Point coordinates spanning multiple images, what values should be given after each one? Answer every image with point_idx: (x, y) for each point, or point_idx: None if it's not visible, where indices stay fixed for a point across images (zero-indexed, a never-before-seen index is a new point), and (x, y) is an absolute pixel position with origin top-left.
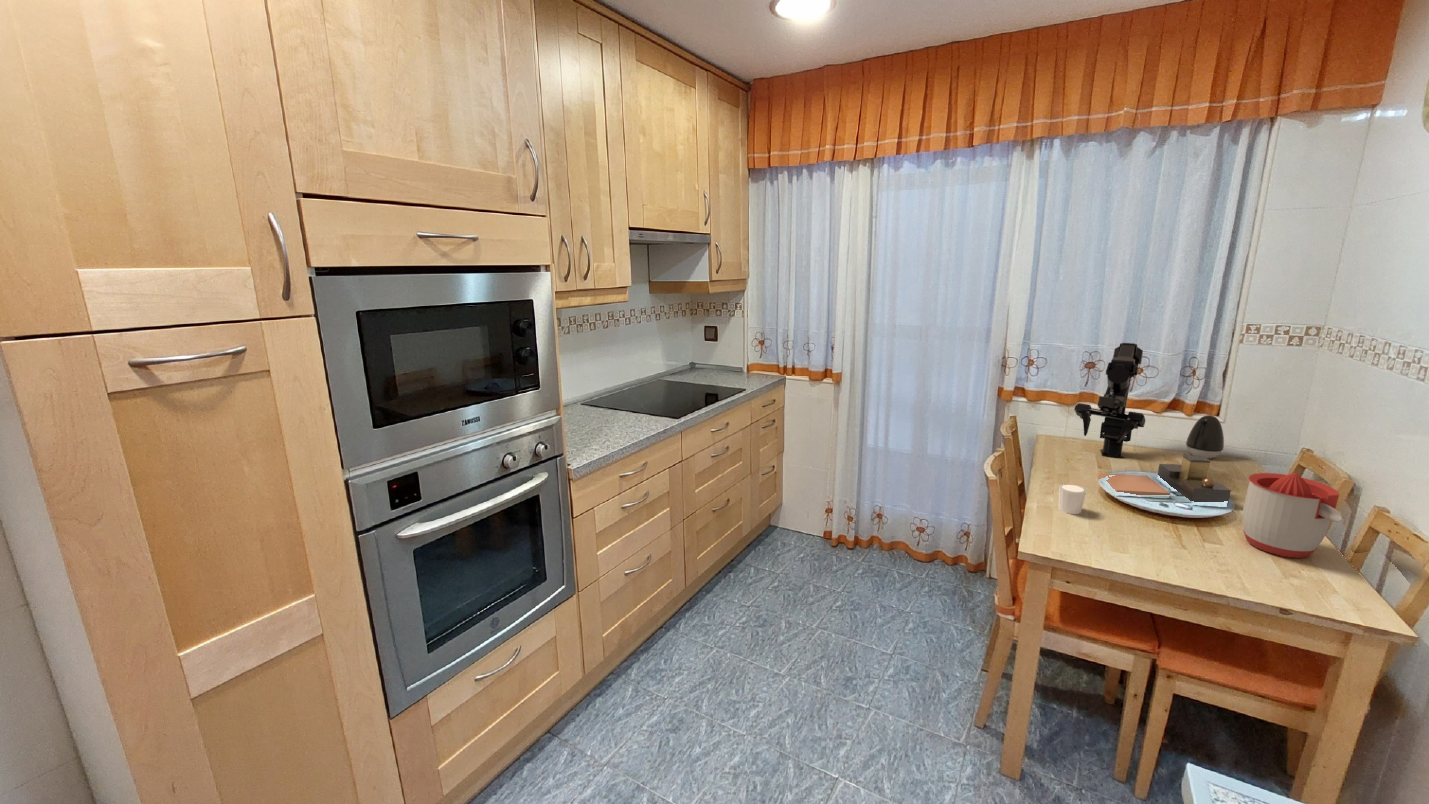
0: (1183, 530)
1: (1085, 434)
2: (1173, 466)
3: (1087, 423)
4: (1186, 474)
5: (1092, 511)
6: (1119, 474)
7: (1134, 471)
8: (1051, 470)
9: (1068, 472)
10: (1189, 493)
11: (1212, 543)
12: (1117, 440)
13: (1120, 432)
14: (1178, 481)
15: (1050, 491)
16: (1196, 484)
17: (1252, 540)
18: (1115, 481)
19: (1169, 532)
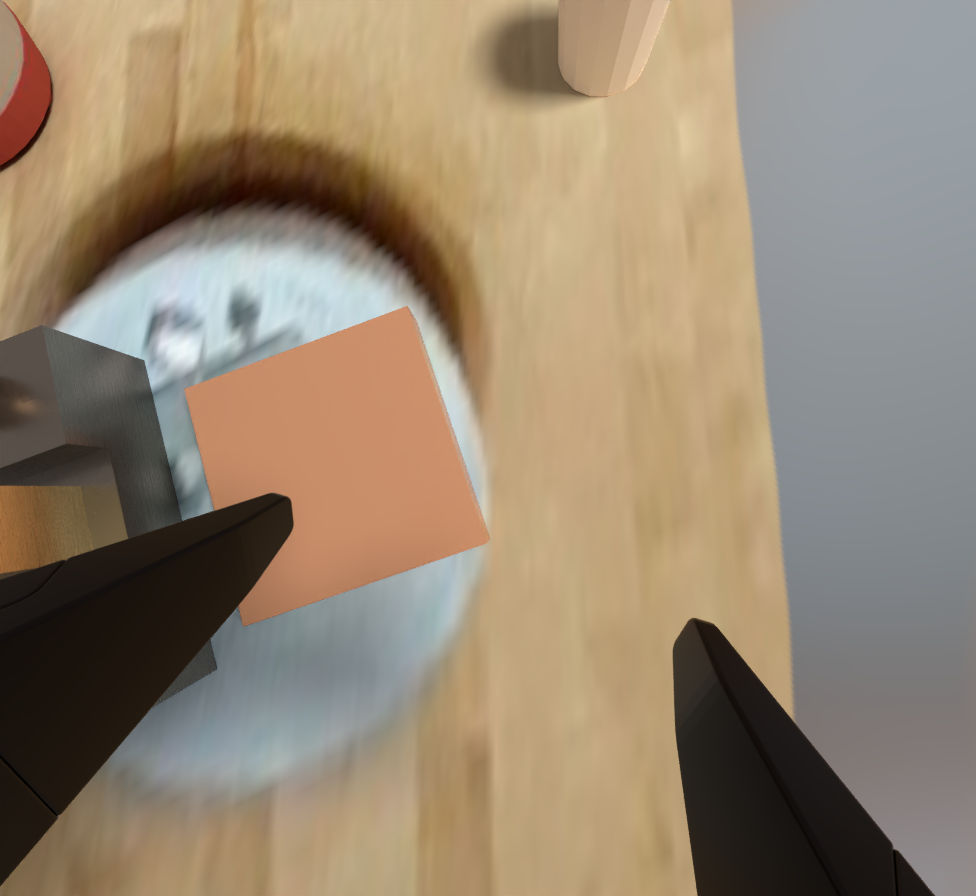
0: (221, 89)
1: (695, 622)
2: None
3: (833, 890)
4: (12, 500)
5: (514, 93)
6: (380, 573)
7: (303, 769)
8: (733, 570)
9: (639, 578)
10: (99, 370)
11: (157, 31)
12: (279, 498)
13: (146, 567)
14: (104, 517)
15: (700, 231)
16: (16, 395)
17: (24, 29)
18: (407, 438)
19: (268, 46)
